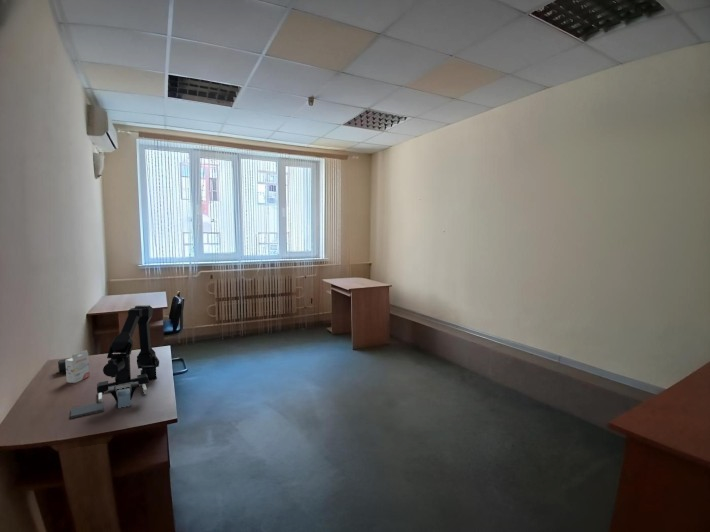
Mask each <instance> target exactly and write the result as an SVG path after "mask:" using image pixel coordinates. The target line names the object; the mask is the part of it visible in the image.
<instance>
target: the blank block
mask: <svg viewBox="0 0 710 532" xmlns="http://www.w3.org/2000/svg"><path fill="white" fill-rule="evenodd" d="M116 393H117V397H118V403H117V407H118V408H119V409H122V408H121V407H124V408H127V407H126V406H128V407H131V406H130V405H131V402H132V400H130V387H129V388H124V389H119V390H116Z"/></svg>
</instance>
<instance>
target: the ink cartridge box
mask: <svg viewBox="0 0 710 532" xmlns="http://www.w3.org/2000/svg"><path fill="white" fill-rule="evenodd" d="M89 361H90V359H89V352H88V349H85V350H82V351H79V352H76V353H73V354H72V355H71V358H68V359H66V360H65V364H66V373H65V374H66V376H65V377H66V383H71V384H72V383H73V384H76V383H78V382H81V381H82V380H85V379H87V377H88V378H90V377H91V376H90V375H91V374H90V362H89Z"/></svg>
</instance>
